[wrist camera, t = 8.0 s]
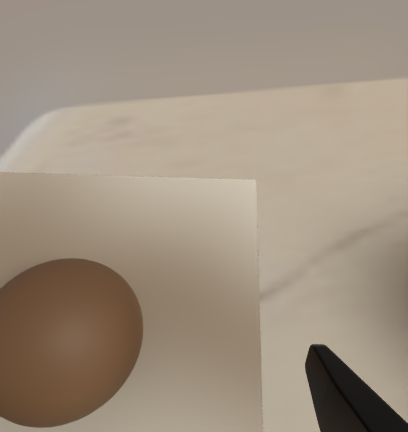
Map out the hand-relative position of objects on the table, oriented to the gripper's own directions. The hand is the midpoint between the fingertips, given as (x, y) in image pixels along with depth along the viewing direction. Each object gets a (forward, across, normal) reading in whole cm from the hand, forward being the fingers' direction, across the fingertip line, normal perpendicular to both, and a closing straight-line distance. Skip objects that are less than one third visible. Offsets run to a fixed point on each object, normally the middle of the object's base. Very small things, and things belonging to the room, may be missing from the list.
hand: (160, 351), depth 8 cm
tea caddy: (+7, 0, +6) cm, 9 cm away
